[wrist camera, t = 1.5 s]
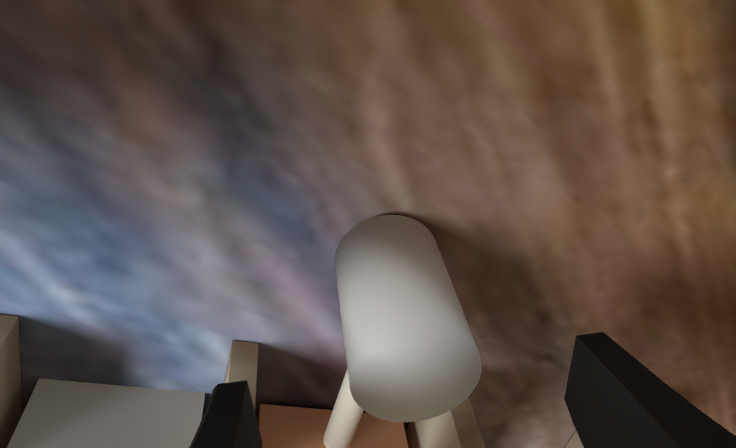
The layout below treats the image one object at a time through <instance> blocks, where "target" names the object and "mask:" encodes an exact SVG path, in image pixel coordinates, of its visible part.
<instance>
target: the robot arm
mask: <svg viewBox="0 0 736 448" xmlns="http://www.w3.org/2000/svg"><path fill="white" fill-rule="evenodd" d="M564 399H565V402H566V404H567V407H568V410H569V412H570V415H571V418H572V420H573V423H574V426H575V428H576V431H577V433H578V435H579V438H580V440H581V443H582V445H583V447H584V448H736V436H735V435H733V434H732V433H731V432H729V431H728V430H726V429H725V428H723V427H722V426H721V425H719V424H718V423H716V422H715V421H714V420H712V419H711V418H710V417H708V416H707V415H706V414H704V413H703V412H702V411H700V410H699V409H698V408H696V407H695V406H694V405H692V404H691V403H690V402H688V401H687V400H686V399H685V398H683V397H682V396H681V395H679V394H678V393H677V392H676V391H674V390H673V389H672V388H670V387H669V386H668V385H667V384H665V383H664V382H663V381H662V380H660V379H659V378H658V377H657V376H656V375H654V374H653V373H652V372H651V371H649V370H648V369H647V368H646V367H645V366H643V365H642V364H641V363H640V362H639V361H637V360H636V359H635V358H634V357H633V356H631V355H630V354H629V353H628V352H627V351H625V350H624V349H623V348H622V347H621V346H619V345H618V344H617V343H616V342H614V341H613V340H612V339H611V338H610V337H608V336H607V335H606V334H605V333H603V332H600V333H593V334H586V335H578V336H576V340H575V345H574V351H573V356H572V361H571V367H570V372H569V377H568V382H567V388H566V393H565V398H564ZM189 448H262V439H261V434H260V430H259V426H258V422H257V418H256V414H255V410H254V406H253V402H252V398H251V394H250V390H249V386H248V382H247V380H245V381H237V382H230V383H223V384H218V385H217V386H216V387H215V388H214V389H213V392H212V395H211V398H210V400H209V403H208V405H207V408H206V410H205V413H204V415H203V418H202V420H201V422H200V425H199V427H198V429H197V432H196V434H195V436H194V438H193V440H192V443H191V445H190V447H189Z"/></svg>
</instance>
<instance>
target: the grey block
mask: <svg viewBox="0 0 736 448" xmlns="http://www.w3.org/2000/svg"><path fill="white" fill-rule="evenodd" d="M204 399H205V393H202V392H191V391H179V390H167V389H155V388H144V387H132V386H120V385H109V384H97V383H85V382H73V381H62V380H50V379H39V380H38V382H37V384H36V386H35V388H34V391H33V393H32V395H31V397H30V399H29V401H28V403H27V406H26V408H25V410H24V412H23V414H22V416H21V418H20V421H19V423H18V425H17V427H16V429H15V431H14V433H13V436H12V438H11V440H10V442H9V444H8V446H7V448H189V447H190V445H191V443H192V440H193V438H194V436H195V434H196V432H197V429H198V427H199V425H200V422H201V420H202V413H203V406H204Z"/></svg>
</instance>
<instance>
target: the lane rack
mask: <svg viewBox="0 0 736 448" xmlns="http://www.w3.org/2000/svg"><path fill="white" fill-rule="evenodd" d="M258 344H259V343H250V342H241V341H232V346H231V351H230V355H229V360H228V365H227V370H226V375H225V380H224V383H230V382H237V381H245V380H247V382H248V386H249V390H250V394H251V398H252V402H253V406H254V410H255V400H256V381H257V362H258ZM22 414H23V410H22V386H21V363H20V340H19V316H10V315H1V314H0V448H7V446H8V444H9V442H10V440H11V438H12V436H13V433H14V431H15V429H16V427H17V425H18V423H19V421H20V418H21V416H22ZM405 434H406V439H407V443H408V448H486V446H485V443H484V440H483V437H482V434H481V431H480V428H479V425H478V422H477V419H476V416H475V413H474V411H473V408H472V405H471V402H470V399H469V396H468V397H467V398H466V399H465V400H464V401H463V402H462V403H461V404H459V405H458V406H456V407H455V408H453V409H452V410H450V411H448V412H446V413H444V414H442V415H439V416H437V417H434V418H430V419H426V420H422V421H415V422H410V423H409V425H408V427H407V429H406V431H405ZM565 448H584V447H583V445H582V443H581V440H580V438H579V435H578V433H577V431H576V432H575V433H574V435H573V436H572V438H571V439H570V441H569V442H568V444H567V445H566V447H565Z"/></svg>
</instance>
